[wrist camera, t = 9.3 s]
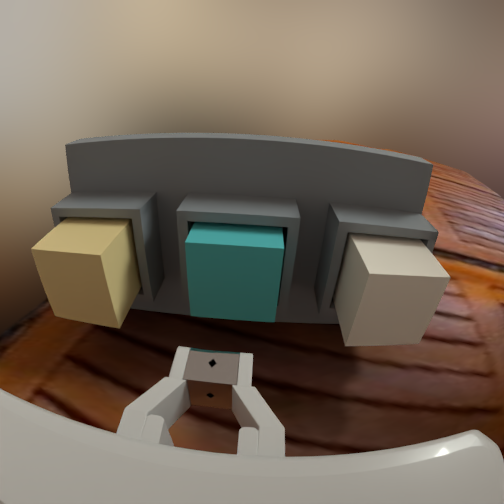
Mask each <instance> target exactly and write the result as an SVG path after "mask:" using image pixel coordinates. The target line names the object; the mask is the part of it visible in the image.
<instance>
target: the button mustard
mask: <svg viewBox="0 0 504 504" xmlns="http://www.w3.org/2000/svg"><path fill="white" fill-rule="evenodd" d="M31 250H32V254H33V257H34V260H35V263H36V266H37V269H38V272H39V275H40V278H41V281H42V284H43V287H44V289H45V292H46V295H47V297H48V300H49V302H50V305H51V307H52V310H53V312H54V315H55V316H57V317H62V318H66V319H71V320H76V321H81V322H86V323H91V324H97V325H102V326H108V327H114V328H120V327H121V325H122V323H123V321H124V319H125V317H126V315H127V313H128V311H129V309H130V307H131V305H132V304H133V302H134V300H135V298H136V296H137V294H138V292H139V290H140V288H141V287H142V282H141V276H140V271H139V265H138V259H137V252H136V246H135V239H134V231H133V224H132V219H130V218H100V217H67V218H66V219H65V220H63V221H62V222H61V223H60V224H59V225H57V226H56V227H55V228H54V229H53V230H52V231H50V232H49V233H48V234H47V235H46V236H45V237H44V238H42V240H40V241H39V242H38V243H37V244H36V245H35V246H34V247H33V248H32V249H31Z"/></svg>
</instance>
